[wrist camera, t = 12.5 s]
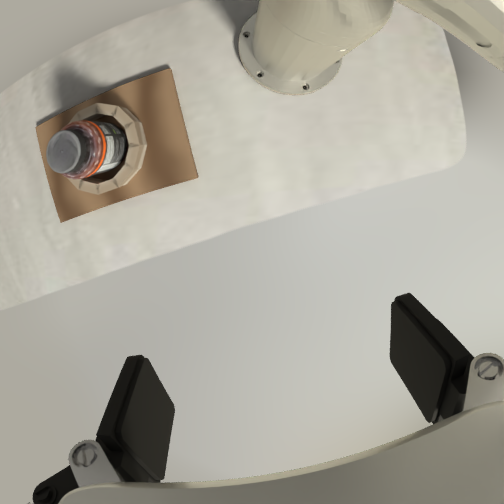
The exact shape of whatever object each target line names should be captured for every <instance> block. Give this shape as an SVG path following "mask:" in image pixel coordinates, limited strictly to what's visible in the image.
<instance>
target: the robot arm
mask: <svg viewBox="0 0 504 504" xmlns="http://www.w3.org/2000/svg"><path fill="white" fill-rule="evenodd" d="M394 1H397V2H399V3H400V4H402V5H404V6H406V7H408V8H409V9H411V10H413V11H415V12H417V13H419V14H422V15H423V16H425V17H427V18H428V19H430V20H431V21H433V22H435V23H436V24H438V25H439V26H441V27H442V28H444V29H445V30H447V31H448V32H449V33H451V34H453V35H454V36H455V37H457V38H458V39H459V40H461V41H462V42H463V43H465V44H466V45H467V46H469V47H470V48H471V49H473V50H474V51H476V52H477V53H478V54H479V55H481V56H482V57H483V58H484V59H486V60H487V61H488V62H490V63H491V64H492V65H494V66H495V67H496V68H498V69H499V70H501V71H503V72H504V0H259V6H258V11H257V12H256V13H255V14H253V15H252V16H251V17H250V18H249V19H248V20H247V21H246V23H245V24H244V26H243V27H242V30H241V33H240V35H239V43H238V51H239V55H240V60H241V62H242V64H243V66H244V68H245V69H246V71H247V72H248V74H249V75H250V76H251V77H252V78H253V79H254V80H255V81H256V82H258V83H259V84H261V85H262V86H264V87H265V88H267V89H270V90H272V91H274V92H278V93H281V94H287V95H304V94H308V93H312V92H315V91H317V90H319V89H321V88H323V87H324V86H326V85H327V84H328V83H329V82H331V81H332V80H333V79H334V77H335V76H336V75H337V73H338V71H339V69H340V67H341V64H342V58H343V56H345V55H346V54H347V53H349V52H350V51H352V50H353V49H355V48H356V47H357V46H359V45H360V44H362V43H363V42H365V41H366V40H368V39H369V38H370V37H372V36H373V35H375V34H376V33H377V32H378V31H380V30H381V29H382V28H383V27H384V26H385V24H386V23H387V21H388V20H389V18H390V16H391V13H392V10H393V5H394ZM246 35H247V36H248V38H245V37H244V36H246ZM335 62H336V63H335ZM258 74H261V75H262V76H261V77H258V76H257V75H258ZM303 86H305V87H306V90H304V89H303ZM390 360H391V363H392V364H393V366H394V368H395V369H396V371H397V373H398V374H399V376H400V377H401V379H402V381H403V382H404V384H405V385H406V387H407V388H408V390H409V392H410V393H411V395H412V397H413V399H414V400H415V402H416V404H417V405H418V407H419V409H420V410H421V412H422V414H423V415H424V417H425V419H426V420H427V421H428V422H429V423H430V422H432V423H433V425H431V426H429V427H427V428H424V429H422V430H420V431H417V432H415V433H412V434H410V435H407V436H405V437H402V438H400V439H397V440H394V441H392V442H389V443H386V444H384V445H381V446H378V447H375V448H372V449H369V450H366V451H363V452H360V453H357V454H354V455H350V456H347V457H344V458H340V459H337V460H333V461H329V462H325V463H321V464H317V465H313V466H309V467H304V468H299V469H295V470H290V471H284V472H279V473H273V474H267V475H261V476H254V477H246V478H238V479H228V480H218V481H205V482H204V481H203V482H176V483H160V480H163V479H164V476H165V470H166V463H167V456H168V450H169V443H170V436H171V430H172V425H173V418H174V413H175V408H174V404H173V402H172V401H171V399H170V397H169V396H168V394H167V392H166V390H165V389H164V387H163V385H162V383H161V381H160V380H159V378H158V376H157V374H156V372H155V370H154V368H153V367H152V365H151V363H150V361H149V359H148V358H144V356H142V355H136V356H129V357H127V359H126V361H125V364H124V366H123V368H122V370H121V373H120V375H119V378H118V380H117V382H116V385H115V387H114V390H113V393H112V395H111V398H110V400H109V402H108V405H107V408H106V410H105V413H104V416H103V418H102V421H101V423H100V426H99V429H98V432H97V434H96V435H97V438H96V441H94V440H84V441H82V442H79V443H78V444H76V445H75V446H74V447H73V448H72V450H71V451H70V453H69V464H70V465H69V466H68V467H66V468H65V469H63V470H61V471H60V472H58V473H56V474H55V475H53V476H52V477H50V478H48V479H47V480H45V481H43V482H42V483H40V484H39V485H38V486H37V487H36V488H35V490H34V493H33V502H34V503H33V504H504V359H503V358H501V357H500V356H498V355H496V354H492V353H483V354H480V355H478V356H476V357H475V358H474V357H473V356H472V355H471V354H470V353H469V351H468V350H467V349H466V348H465V347H464V346H463V345H462V344H461V343H460V342H459V341H458V340H457V338H456V337H455V336H454V335H453V334H452V333H451V332H450V331H449V330H448V329H447V328H446V327H445V326H444V325H443V324H442V323H441V322H440V321H439V320H438V319H436V318H435V317H434V316H433V315H432V314H431V313H430V312H429V311H428V310H427V309H426V308H425V307H424V306H423V305H422V304H421V303H420V302H419V301H418V300H417V299H416V298H415V297H414V296H413V295H412V294H411V293H407V294H403V295H401V296H397V297H396V298H395V301H394V302H392V304H391V340H390ZM28 504H31V503H30V502H29V503H28Z"/></svg>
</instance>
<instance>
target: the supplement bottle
mask: <svg viewBox="0 0 504 504" xmlns="http://www.w3.org/2000/svg"><path fill="white" fill-rule="evenodd" d="M127 152H128V139H127V136H126V134H125V132H124V131H123V129H122V128H120V127H119V126H117V125H116V124H112V123H106V122H96V121H84V120H81V121H74V122H71V123H69V124H67V125H66V126H65V127H63V128H62V129H61V131H59V132H57V133H56V134H54V135H53V136H52V138H51V139H50V141H49V142H48V145H47V150H46V157H47V162H48V164H49V166H50V167H51V169H52V170H54V171H55V172H57V173H61V174H62V175H63V176H65V177H67V178H70V179H82V178H86V177H89V176H92V175H96V174H99V173H102V172H106V171H110V170H112V169H114V168H116V167H118V166H119V165H120V164H121V163H122V162H123V160H124V159H125V157H126V155H127Z"/></svg>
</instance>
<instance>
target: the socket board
mask: <svg viewBox="0 0 504 504" xmlns="http://www.w3.org/2000/svg"><path fill="white" fill-rule="evenodd" d="M81 120H84V121H96V122H106V123H112V124H116V125H117V126H119V127H120V128H122V129H123V131H124V132H125V134H126V136H127V139H128V152H127V155H126V157H125V159H124V160H123V162H122V163H121V164H120V165H119V166H118V167H116V168H114V169H112V170H110V171H106V172H102V173H99V174H96V175H92V176H89V177H86V178H82V179H70V178H67V177H65V176H63V175H62V174H61V173H57V172H55V171H54V170H52V169H51V167H50V166H49V164H48V162H47V157H46V150H47V145H48V142H49V141H50V139H51V138H52V136H53V135H54V134H56V133H57V132H59V131H61V129H62V128H63V127H65V126H66V125H67V124H69V123H71V122H74V121H81ZM36 132H37V137H38V142H39V146H40V151H41V155H42V159H43V163H44V167H45V171H46V175H47V179H48V183H49V186H50V190H51V193H52V196H53V200H54V203H55V206H56V210H57V213H58V216H59V219H60V222H61V223H62V222H64V221H67V220H69V219H72V218H75V217H77V216H80V215H83V214H85V213H88V212H91V211H94V210H97V209H99V208H102V207H105V206H108V205H111V204H114V203H117V202H120V201H123V200H126V199H129V198H132V197H135V196H138V195H141V194H145V193H148V192H151V191H154V190H158V189H161V188H164V187H168V186H171V185H175V184H178V183H181V182H185V181H189V180H192V179H196V178H198V173H197V170H196V166H195V162H194V158H193V154H192V151H191V147H190V143H189V139H188V135H187V131H186V127H185V123H184V119H183V115H182V111H181V107H180V103H179V99H178V95H177V91H176V86H175V82H174V78H173V74H172V70H171V69H170V68H169V69H166V70H163V71H160V72H157V73H154V74H151V75H148V76H145V77H142V78H139V79H137V80H134V81H131V82H129V83H126V84H124V85H121V86H119V87H116V88H114V89H111V90H109V91H107V92H104V93H102V94H100V95H98V96H95V97H93V98H91V99H89V100H87V101H85V102H82V103H80V104H78V105H76V106H74V107H72V108H70V109H68V110H66V111H64V112H62V113H61V114H59V115H57V116H55V117H53V118H51V119H49V120H48V121H46V122H44V123H42V124H40V125H39V126H37V127H36Z"/></svg>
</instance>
